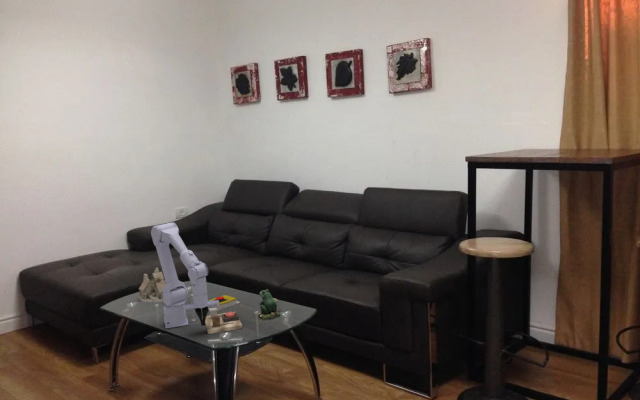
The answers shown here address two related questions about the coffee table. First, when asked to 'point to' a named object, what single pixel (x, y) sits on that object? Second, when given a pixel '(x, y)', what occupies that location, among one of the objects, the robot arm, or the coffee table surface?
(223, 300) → the emergency button
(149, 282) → the ceramic cottage
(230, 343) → the coffee table surface
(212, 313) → the grey slider
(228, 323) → the control panel
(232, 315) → the red push button
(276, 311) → the frog figurine
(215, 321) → the walnut slider
